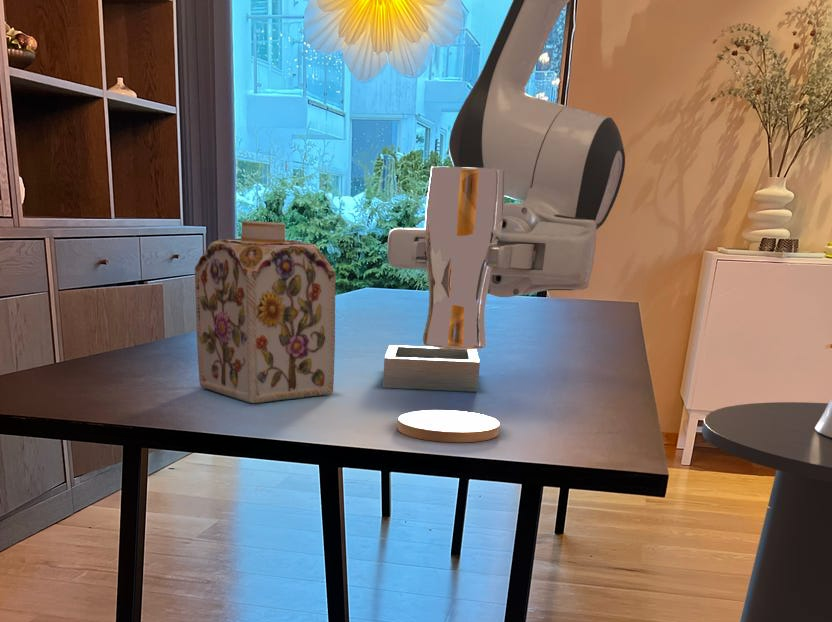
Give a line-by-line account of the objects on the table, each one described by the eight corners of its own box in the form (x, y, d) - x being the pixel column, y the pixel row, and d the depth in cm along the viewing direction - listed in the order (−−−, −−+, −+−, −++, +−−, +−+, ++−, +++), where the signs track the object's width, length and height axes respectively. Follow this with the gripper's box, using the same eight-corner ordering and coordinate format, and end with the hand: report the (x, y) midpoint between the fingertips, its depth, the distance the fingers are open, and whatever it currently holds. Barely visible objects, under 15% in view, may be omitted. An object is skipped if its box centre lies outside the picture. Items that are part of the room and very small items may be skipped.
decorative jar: (196, 387, 105) (189, 218, 97) (278, 379, 112) (277, 220, 104) (252, 405, 97) (248, 222, 89) (337, 395, 103) (341, 223, 96)
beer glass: (470, 353, 81) (487, 167, 75) (404, 344, 85) (414, 165, 78) (502, 345, 87) (520, 170, 80) (438, 337, 90) (451, 169, 83)
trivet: (495, 422, 93) (496, 412, 92) (501, 444, 84) (502, 434, 83) (399, 417, 93) (400, 408, 93) (395, 439, 84) (395, 429, 84)
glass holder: (474, 376, 118) (476, 348, 117) (477, 392, 108) (479, 362, 106) (387, 372, 119) (389, 345, 117) (383, 387, 109) (384, 357, 107)
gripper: (423, 213, 96) (358, 212, 85) (613, 220, 87) (568, 220, 76) (419, 277, 98) (356, 284, 87) (603, 290, 89) (558, 299, 78)
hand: (456, 254), depth 81 cm, fingers closed on beer glass, 6 cm apart
